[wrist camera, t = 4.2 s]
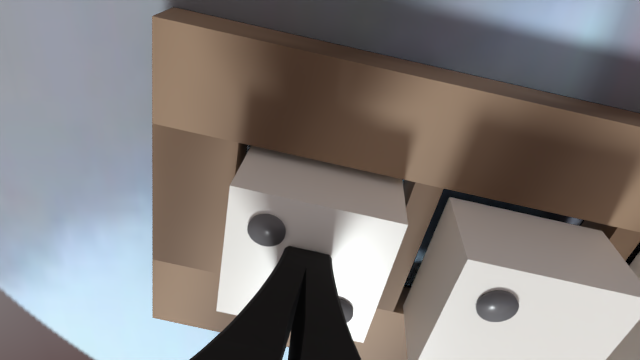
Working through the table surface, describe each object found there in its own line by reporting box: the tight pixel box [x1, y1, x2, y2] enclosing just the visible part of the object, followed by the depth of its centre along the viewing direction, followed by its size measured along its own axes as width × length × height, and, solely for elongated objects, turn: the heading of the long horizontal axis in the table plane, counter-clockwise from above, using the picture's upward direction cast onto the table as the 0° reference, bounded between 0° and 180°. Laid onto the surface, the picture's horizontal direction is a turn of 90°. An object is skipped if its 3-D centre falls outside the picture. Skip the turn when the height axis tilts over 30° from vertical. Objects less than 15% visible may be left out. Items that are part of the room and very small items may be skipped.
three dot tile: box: [216, 146, 408, 343], centre depth 14 cm, size 5×5×3 cm
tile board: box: [152, 7, 640, 360], centre depth 16 cm, size 24×12×2 cm, turn 79°
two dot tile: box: [403, 197, 640, 360], centre depth 14 cm, size 5×5×3 cm
